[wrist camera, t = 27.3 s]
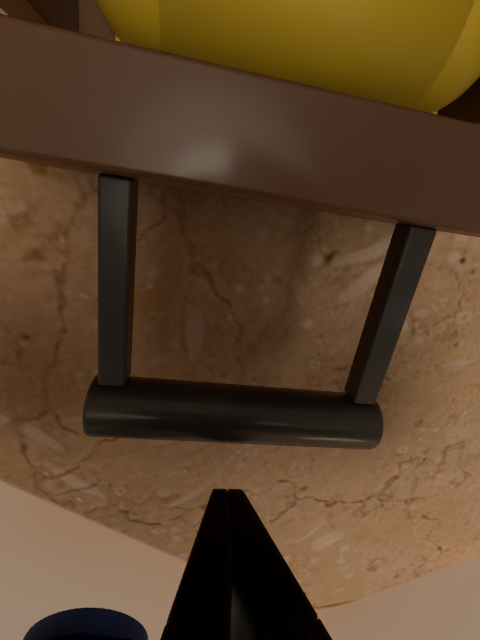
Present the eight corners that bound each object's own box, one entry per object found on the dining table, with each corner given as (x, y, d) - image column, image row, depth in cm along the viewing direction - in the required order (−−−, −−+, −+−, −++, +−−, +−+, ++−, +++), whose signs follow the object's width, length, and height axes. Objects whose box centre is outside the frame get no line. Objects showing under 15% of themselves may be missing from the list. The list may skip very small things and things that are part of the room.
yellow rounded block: (109, 78, 8) (52, 7, 5) (110, -90, 7) (39, -310, 4) (412, 141, 9) (513, 115, 6) (452, 7, 8) (596, -102, 5)
